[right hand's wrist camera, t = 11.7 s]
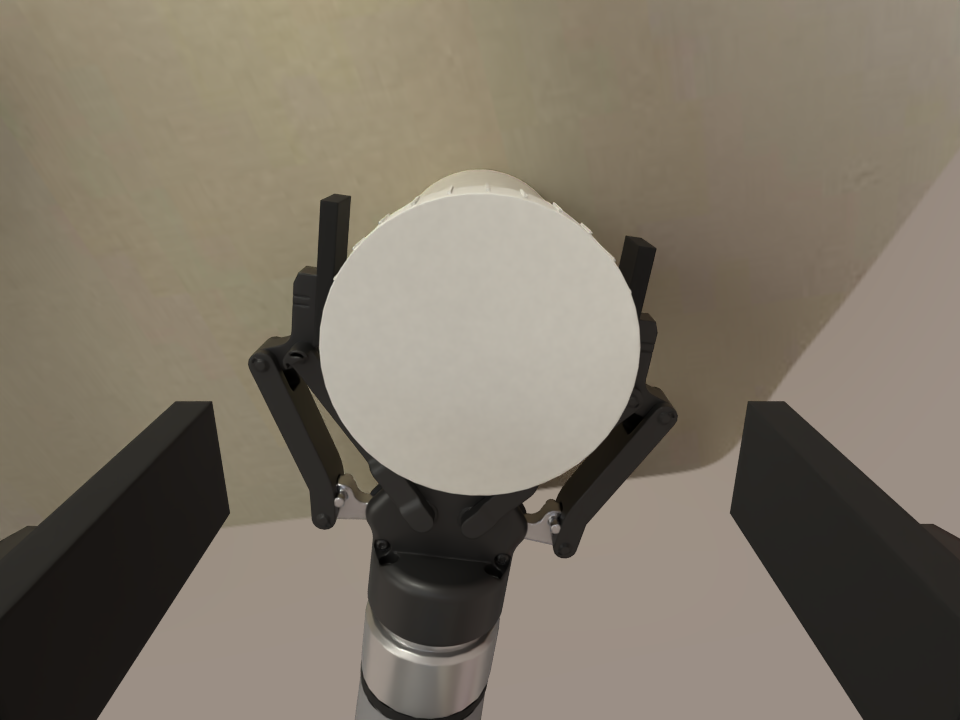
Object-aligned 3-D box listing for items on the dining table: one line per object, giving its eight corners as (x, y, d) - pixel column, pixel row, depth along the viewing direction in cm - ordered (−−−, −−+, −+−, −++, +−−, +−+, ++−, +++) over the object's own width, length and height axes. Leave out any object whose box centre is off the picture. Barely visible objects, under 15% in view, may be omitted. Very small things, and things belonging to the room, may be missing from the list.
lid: (623, 453, 23) (638, 488, 21) (354, 469, 23) (342, 505, 21) (627, 173, 20) (646, 179, 18) (312, 194, 20) (291, 203, 18)
